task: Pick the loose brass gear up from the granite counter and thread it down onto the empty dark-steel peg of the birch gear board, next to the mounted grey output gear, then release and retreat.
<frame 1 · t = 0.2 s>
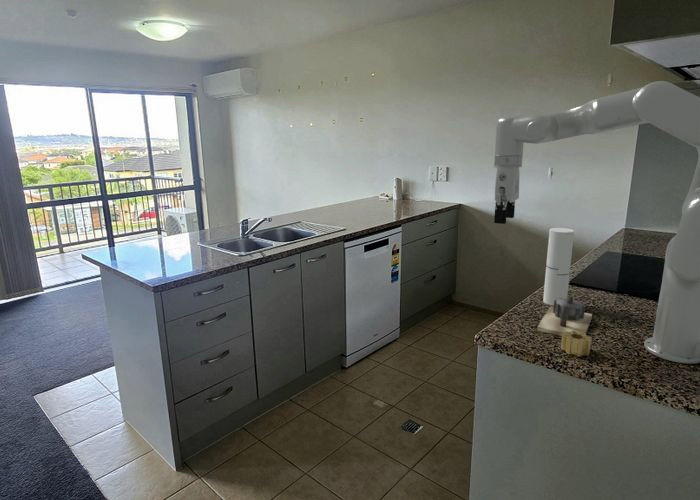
hand: (504, 220, 127), 31 cm above the worktop, fingers open, 9 cm apart
cylindrical container: (554, 302, 144), on the worktop
gear board: (565, 324, 127), on the worktop
brass gear: (575, 350, 112), on the worktop
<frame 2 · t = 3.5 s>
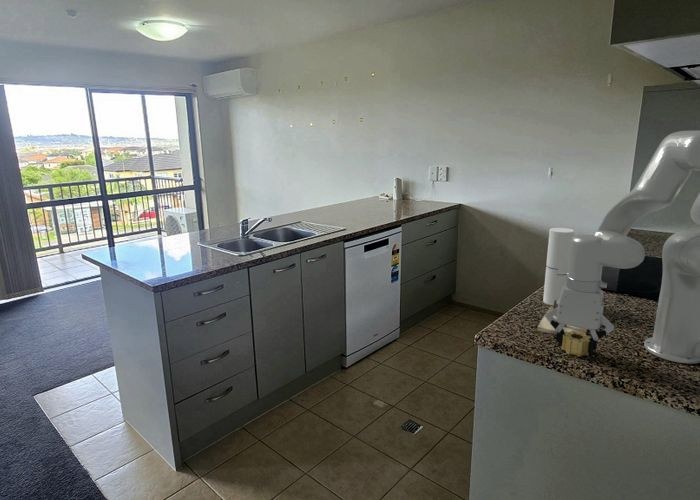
hand: (575, 347, 112), 1 cm above the worktop, fingers closed on brass gear, 6 cm apart
brass gear: (575, 350, 112), on the worktop, touching gripper
everything else where it was.
when the fingers open (3 cm above the worktop, at t = 8.4 s): brass gear drops 2 cm, resting on gear board.
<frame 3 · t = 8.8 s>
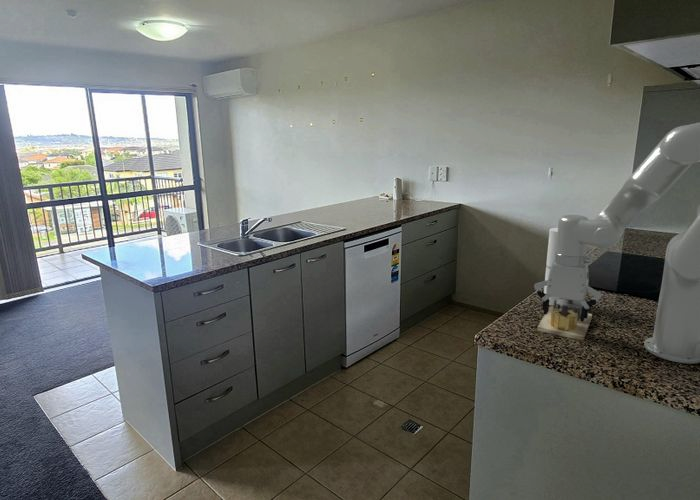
hand: (563, 316, 123), 4 cm above the worktop, fingers open, 9 cm apart
brass gear: (563, 325, 124), point 1 cm above the worktop, touching gear board
everything else where it was.
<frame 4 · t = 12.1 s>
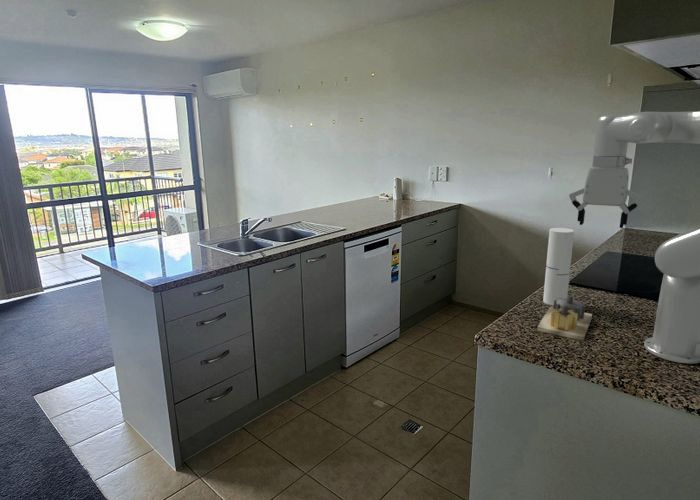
hand: (601, 225, 118), 30 cm above the worktop, fingers open, 9 cm apart
nothing on the worktop moved.
at the end: brass gear 0.1 cm from the target spot on the gear board, point 1.2 cm above the gear board's base; brass gear tilted 0°; the gripper is holding nothing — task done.
